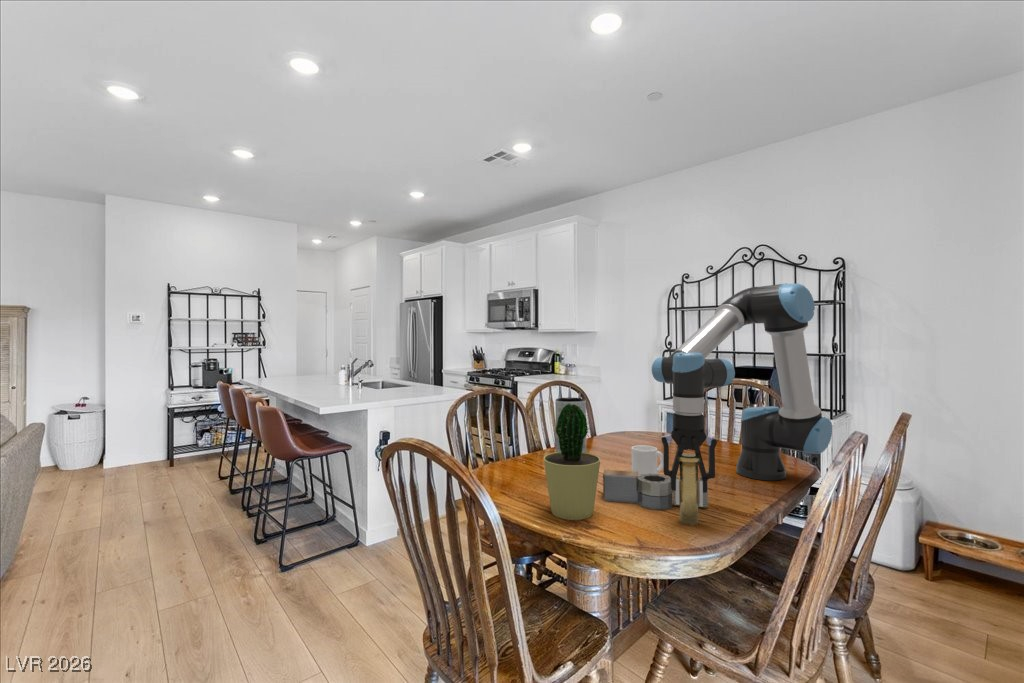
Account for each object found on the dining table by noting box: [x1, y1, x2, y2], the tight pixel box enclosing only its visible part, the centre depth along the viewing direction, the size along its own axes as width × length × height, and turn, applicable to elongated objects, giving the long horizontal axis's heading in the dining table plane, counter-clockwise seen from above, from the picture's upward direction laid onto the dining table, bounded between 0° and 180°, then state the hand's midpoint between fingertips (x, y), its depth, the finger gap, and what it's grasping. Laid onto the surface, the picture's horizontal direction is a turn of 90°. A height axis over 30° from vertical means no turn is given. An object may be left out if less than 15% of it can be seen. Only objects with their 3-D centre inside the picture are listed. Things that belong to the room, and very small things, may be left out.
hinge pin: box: [678, 452, 701, 527], centre depth 122 cm, size 6×6×17 cm
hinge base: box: [604, 475, 673, 511], centre depth 137 cm, size 19×9×7 cm, turn 75°
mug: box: [631, 444, 663, 476], centre depth 160 cm, size 12×8×10 cm
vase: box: [554, 397, 587, 453], centre depth 158 cm, size 10×10×27 cm
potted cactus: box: [543, 403, 601, 521], centre depth 130 cm, size 15×15×30 cm
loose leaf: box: [638, 473, 709, 509], centre depth 135 cm, size 19×9×7 cm, turn 75°
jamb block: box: [602, 469, 638, 500], centre depth 141 cm, size 10×5×7 cm, turn 75°
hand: (688, 503), depth 122 cm, fingers open, 5 cm apart
